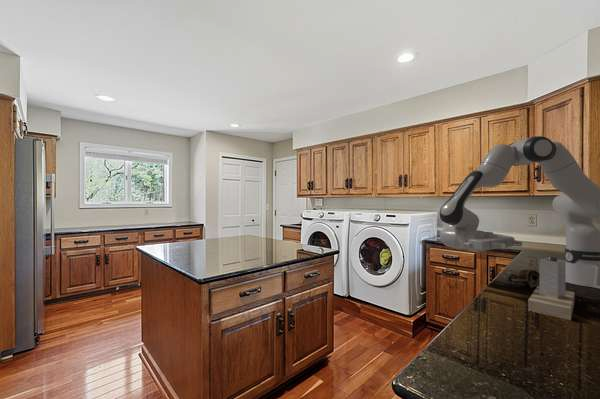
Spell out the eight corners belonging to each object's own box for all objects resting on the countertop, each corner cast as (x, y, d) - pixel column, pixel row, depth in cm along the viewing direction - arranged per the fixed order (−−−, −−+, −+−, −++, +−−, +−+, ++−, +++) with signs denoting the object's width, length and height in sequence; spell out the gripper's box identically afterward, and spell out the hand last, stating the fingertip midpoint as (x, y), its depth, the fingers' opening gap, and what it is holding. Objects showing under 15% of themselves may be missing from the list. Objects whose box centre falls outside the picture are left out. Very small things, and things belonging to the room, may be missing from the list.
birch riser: (537, 295, 109) (537, 285, 109) (574, 302, 101) (574, 291, 101) (528, 311, 93) (528, 300, 93) (570, 320, 86) (570, 308, 86)
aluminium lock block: (547, 292, 101) (547, 255, 101) (565, 297, 96) (565, 257, 96) (539, 294, 98) (539, 256, 98) (557, 299, 94) (557, 258, 94)
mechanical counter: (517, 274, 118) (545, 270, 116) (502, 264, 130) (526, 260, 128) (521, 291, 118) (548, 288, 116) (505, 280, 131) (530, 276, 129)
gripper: (460, 235, 116) (496, 239, 104) (492, 231, 125) (528, 234, 113) (461, 251, 116) (497, 256, 104) (492, 246, 125) (529, 251, 113)
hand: (513, 245), depth 108 cm, fingers open, 8 cm apart
